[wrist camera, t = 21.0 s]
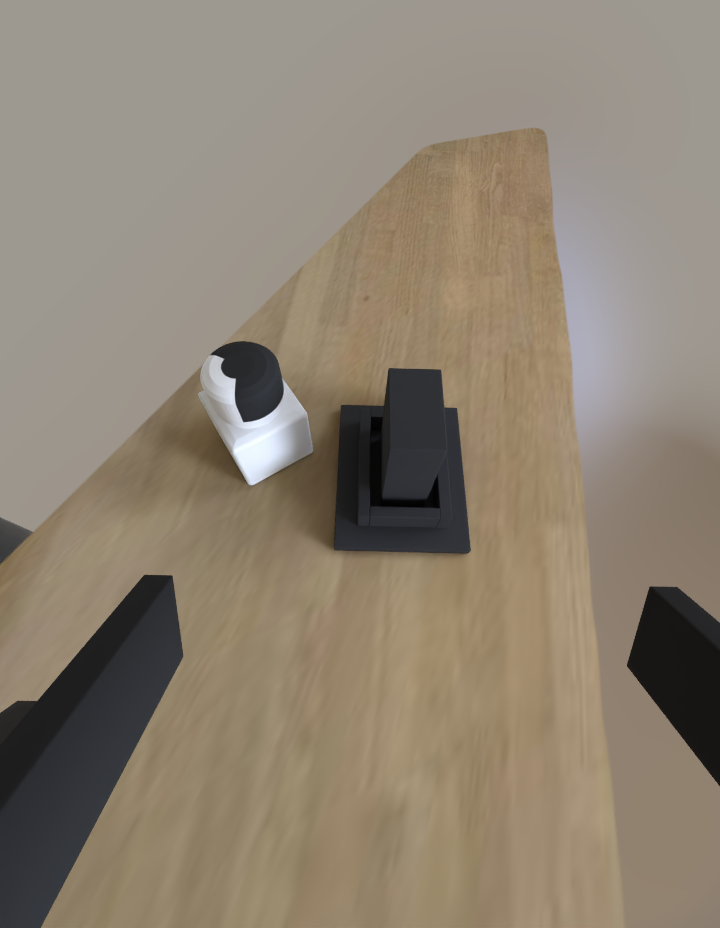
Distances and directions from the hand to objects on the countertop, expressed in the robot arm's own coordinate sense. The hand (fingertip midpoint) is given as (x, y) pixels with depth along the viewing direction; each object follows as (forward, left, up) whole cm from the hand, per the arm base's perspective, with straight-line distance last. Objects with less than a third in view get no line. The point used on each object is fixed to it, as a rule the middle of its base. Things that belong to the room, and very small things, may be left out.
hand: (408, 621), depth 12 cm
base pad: (-4, +16, -25) cm, 30 cm away
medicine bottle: (-17, +14, -25) cm, 33 cm away
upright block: (-4, +16, -24) cm, 29 cm away
